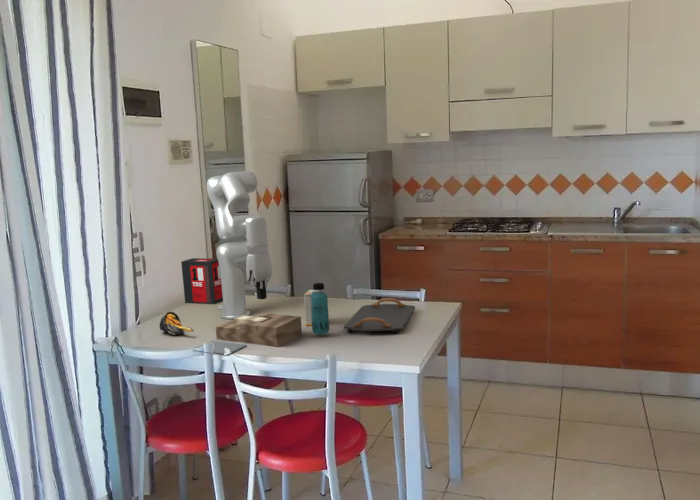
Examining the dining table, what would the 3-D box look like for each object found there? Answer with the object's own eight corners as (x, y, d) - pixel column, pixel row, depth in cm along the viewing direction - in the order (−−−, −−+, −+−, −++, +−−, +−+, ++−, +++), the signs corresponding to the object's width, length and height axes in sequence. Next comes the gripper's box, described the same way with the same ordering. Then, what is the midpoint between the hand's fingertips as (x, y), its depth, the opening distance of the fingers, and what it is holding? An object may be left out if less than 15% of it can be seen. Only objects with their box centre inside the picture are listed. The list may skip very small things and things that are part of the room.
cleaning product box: (185, 303, 311) (181, 261, 308) (196, 298, 319) (192, 258, 316) (215, 304, 305) (211, 262, 302) (225, 299, 313) (221, 258, 310)
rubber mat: (192, 350, 234) (192, 349, 234) (212, 342, 244) (212, 340, 244) (227, 355, 226) (226, 354, 226) (246, 346, 236) (246, 344, 236)
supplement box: (317, 326, 258) (315, 293, 256) (305, 326, 259) (303, 293, 257) (322, 320, 266) (320, 289, 264) (310, 320, 267) (308, 289, 265)
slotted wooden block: (216, 339, 247) (215, 321, 246) (243, 327, 261) (241, 310, 260) (277, 346, 234) (276, 327, 232) (301, 334, 247) (300, 316, 246)
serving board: (364, 310, 281) (363, 296, 280) (417, 310, 275) (417, 296, 274) (340, 336, 244) (339, 320, 243) (401, 337, 238) (401, 321, 237)
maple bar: (234, 327, 249) (234, 318, 249) (242, 324, 253) (241, 315, 253) (262, 330, 243) (261, 321, 242) (269, 327, 247) (269, 318, 246)
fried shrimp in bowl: (170, 316, 267) (202, 305, 258) (171, 343, 263) (203, 332, 254) (152, 313, 259) (184, 301, 251) (153, 340, 256) (186, 329, 247)
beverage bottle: (312, 334, 247) (308, 282, 244) (329, 332, 248) (326, 281, 245) (312, 338, 241) (309, 285, 238) (330, 337, 241) (327, 284, 238)
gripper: (262, 246, 249) (265, 293, 252) (237, 253, 236) (241, 302, 239) (278, 247, 245) (281, 294, 248) (253, 253, 232) (257, 303, 235)
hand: (261, 298), depth 243 cm, fingers closed
